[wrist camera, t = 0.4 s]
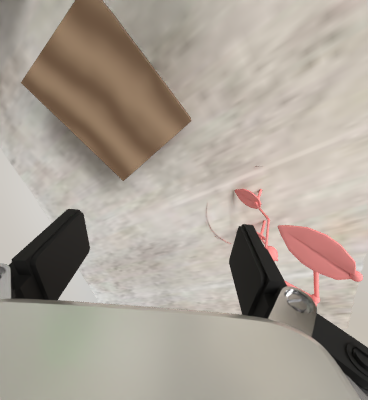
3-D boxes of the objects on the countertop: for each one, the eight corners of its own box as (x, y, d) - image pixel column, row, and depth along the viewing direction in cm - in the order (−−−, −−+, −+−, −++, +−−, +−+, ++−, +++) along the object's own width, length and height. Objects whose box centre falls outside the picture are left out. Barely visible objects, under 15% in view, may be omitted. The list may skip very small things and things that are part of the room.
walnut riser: (111, 11, 29) (87, -18, 22) (190, 117, 36) (191, 121, 29) (55, 86, 34) (20, 82, 27) (134, 167, 41) (123, 181, 34)
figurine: (261, 153, 39) (511, 346, 9) (271, 244, 51) (393, 467, 20) (191, 172, 42) (189, 373, 11) (215, 254, 53) (248, 466, 23)
